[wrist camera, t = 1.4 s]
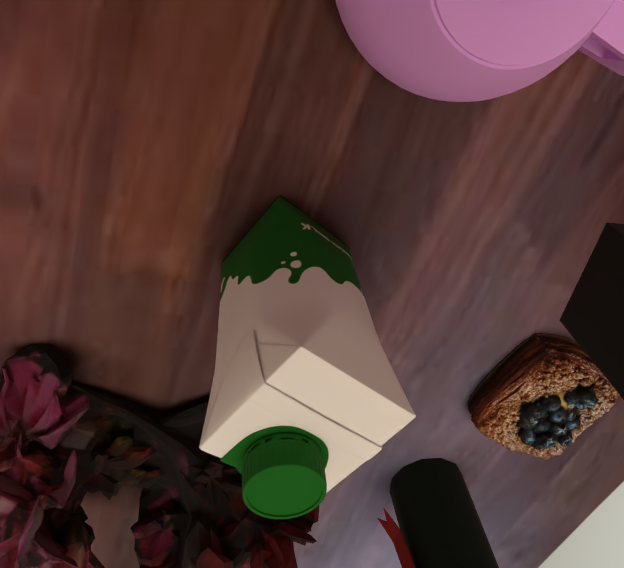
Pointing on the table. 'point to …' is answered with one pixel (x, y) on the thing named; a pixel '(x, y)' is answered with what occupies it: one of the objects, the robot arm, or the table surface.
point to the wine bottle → (436, 519)
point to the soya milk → (297, 367)
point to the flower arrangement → (120, 479)
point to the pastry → (541, 397)
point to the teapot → (480, 41)
